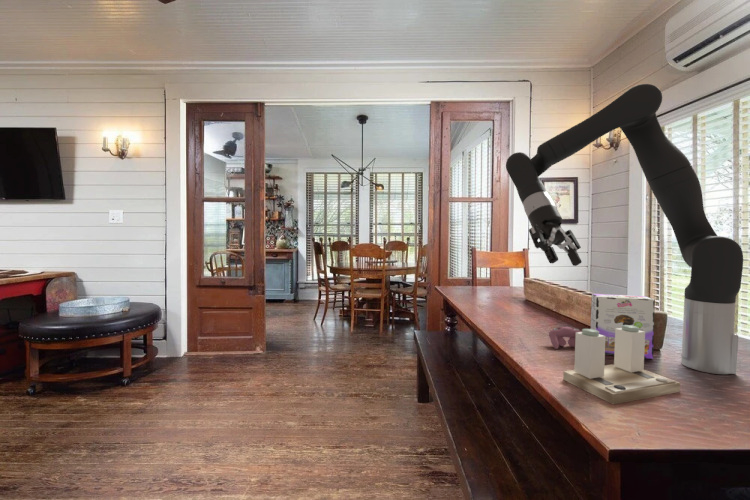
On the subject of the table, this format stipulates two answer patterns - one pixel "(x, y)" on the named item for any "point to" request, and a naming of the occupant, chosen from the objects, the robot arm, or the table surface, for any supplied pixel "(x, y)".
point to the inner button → (629, 348)
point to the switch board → (623, 384)
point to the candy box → (623, 318)
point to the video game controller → (561, 332)
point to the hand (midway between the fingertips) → (566, 263)
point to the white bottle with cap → (589, 353)
